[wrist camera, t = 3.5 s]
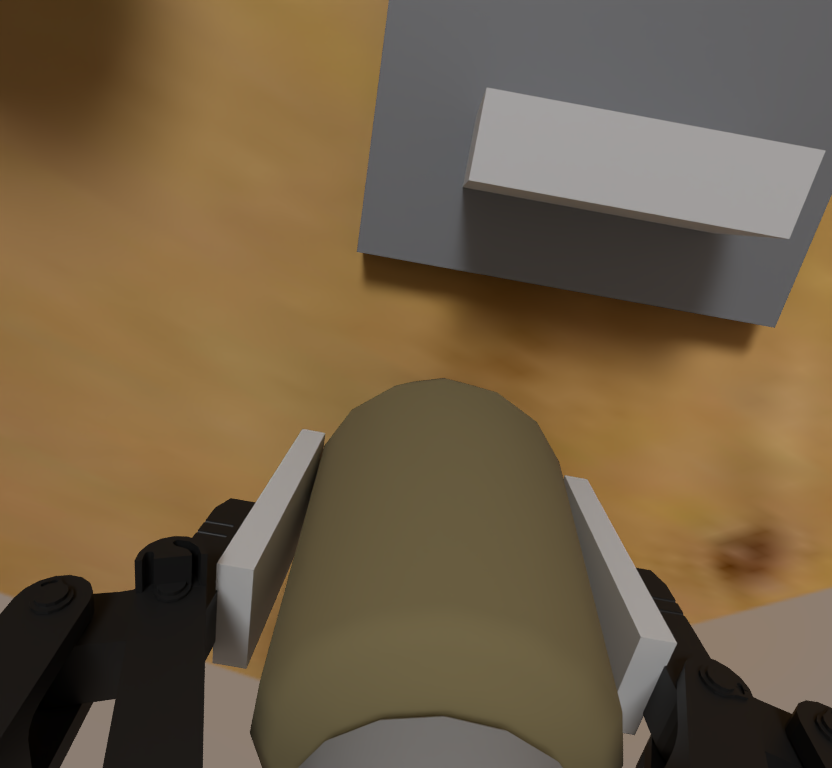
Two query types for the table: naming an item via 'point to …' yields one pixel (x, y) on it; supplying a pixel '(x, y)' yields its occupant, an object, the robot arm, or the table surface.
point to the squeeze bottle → (438, 600)
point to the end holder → (606, 146)
